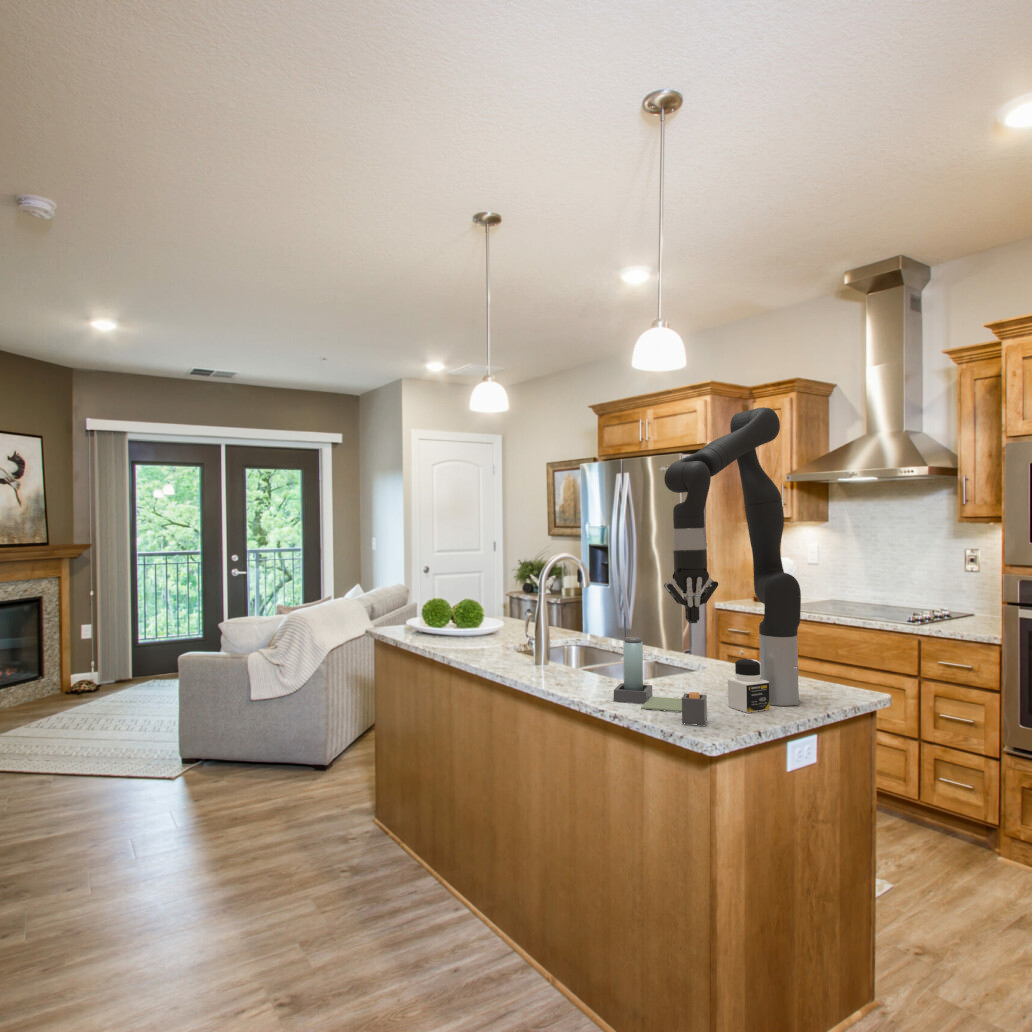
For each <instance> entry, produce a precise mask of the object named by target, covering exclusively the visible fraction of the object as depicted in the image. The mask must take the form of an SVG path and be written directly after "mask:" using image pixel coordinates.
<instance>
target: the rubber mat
mask: <svg viewBox="0 0 1032 1032" xmlns="http://www.w3.org/2000/svg"><path fill="white" fill-rule="evenodd" d="M642 709H654V710H653V711H655V710H665V711H664V712H668V711H678V712H677V713H681V712H682V698H680V697H679V698H675V697H663V696H661V697H660V696H652V697H650V698H649V700H648V701H647V702H645V703H644V704H642V706H641V707H640V710H642Z"/></svg>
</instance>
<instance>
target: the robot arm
mask: <svg viewBox="0 0 1032 1032" xmlns="http://www.w3.org/2000/svg"><path fill="white" fill-rule="evenodd" d="M780 429H781V422H780V419H779V417H778V414H777V413H776V411H775V410H774V409H772V408H770V407H765V406H764V407H756V408H754V409H750V410H744V411H741V412H737V413H735V414H734V415H733V416H732V417H731V420H730V428H729V430H730V433H728V434H725V435H723V436H721V437H718V438H716V439H714V440H712V441H711V442H709V443H708V444H706V445H705V446H703V447H701V448H700V449H699V450H698V451H696V452H695V453H693V454H689V455H688V456H685V457H683V458H681V459H678V460H677V461H674V462H673V463H671V464H670V465H669V466H668V468H667V469H666V470H665V473H664V484H665V487H666V488H667V489H668V490H669V491H671V492H672V493H678V494H683V493H687V494H686V497H685V499H684V501H683V502H679V503H676V504H675V505H674V507H673V510H672V513H673V518H672V520H673V521H672V522H673V523H672V524H673V535H672V544H673V545H672V548H673V549H672V551H673V552H672V553H673V569H674V570H673V574H672V579H671V580H669V582H666V583H664V585H663V588H664V589H665V590H666V591H667V593H668V594H669V595H670V596H671V597H672V598H673V600H675V602H676V604H678V605H681V606H684V609H685V610H684V613H685V620H686V621H687V623H689V624H698V621H700V607H701V605H704V604H705V605H706V604H707V603H708V602H709V600H710V599H711V596H712V595H713V594H714V592H715V591H716V589H717V588H718V587H719V582H718V581H716V580H713V579H712V578H710V574H709V572H708V551H707V547H708V544H707V534H706V528H705V527H706V525H705V510H706V509H705V508H706V504H707V500H708V496H709V490H710V486H711V481H712V480H711V478H712V477H714V476H716V475H718V474H719V473H720V472H721V471H723V470H724V469H725V468H727V467H728V466H729V465H731V464H732V463H733V462H735V461H736V462H737V467H738V470H739V477H740V481H741V489H742V495H743V504H744V511H745V519H746V523H747V529H748V536H749V542H750V546H751V554H752V563H753V564H752V566H753V586H754V588H753V589H754V593H755V596H756V597H757V599H758V600H759V602H760V603H761V604H763V605H764V615H763V616H764V617H763V618H762V621H761V622H759V625H758V628H759V629H758V631H759V632H758V635H759V639H758V640H759V643H758V644H759V662H760V663H761V677H760V679H762V680H766V681H769V705H773V706H780V707H782V706H783V707H785V706H787V707H788V706H799V705H800V703H799V699H800V695H799V654H798V650H799V649H798V648H799V647H798V644H799V643H798V631H799V630H798V629H799V626H800V623H801V612H802V611H801V610H802V608H801V606H802V605H801V604H802V602H801V601H802V594H801V586H800V584H799V581H798V580H797V579H796V578H795V577H794V576H793V575H792V574H790V573H787V572H784V567H783V563H782V562H783V561H782V555H781V544H782V537H783V533H784V532H783V531H784V525H785V515H784V514H785V513H784V506H783V501H782V500H783V499H782V495H781V492H780V490H779V488H778V487H777V485H776V484H775V483H774V481H773V480H772V479H771V478H770V476H768V474H767V473H766V472H765V470H764V469H763V467H762V465H761V463H760V462H759V458H758V454H757V449H756V448H758V447H760V446H763V445H765V444H768V443H771V442H772V441H774V440H775V439H776V438H777V437H778V435H779V433H780ZM704 587H705V588H704ZM677 588H679V589H680V591H681V593H680V592H679V591H678V590H677ZM703 588H704V589H703ZM702 590H703V591H702Z"/></svg>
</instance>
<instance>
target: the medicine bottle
mask: <svg viewBox="0 0 1032 1032" xmlns="http://www.w3.org/2000/svg"><path fill="white" fill-rule="evenodd" d="M734 663H735V665H734V667H735V668H734V669H735V670H734V671H735V672H734V674H735V677H730V678H728V679H727V705H728V708H731V709H733V710H736V711H739V710H740V712H742V711H743V712H744V713H745V712H746V714H750V713H751V712H752V713H757V712H758V711H759V712H764V710H765V711H769V710H770V709H771V708H770V705H771V704H769V681H766V680H762V679H760V677H761V663H760V660H759V661H758V660H756V659H753V658H741V659H737V660H736V661H735V662H734Z"/></svg>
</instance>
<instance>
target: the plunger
mask: <svg viewBox="0 0 1032 1032" xmlns="http://www.w3.org/2000/svg"><path fill="white" fill-rule="evenodd" d="M688 694H689V698H697V699H700V692H695V691H693V692H692V691H691V692H688Z"/></svg>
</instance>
